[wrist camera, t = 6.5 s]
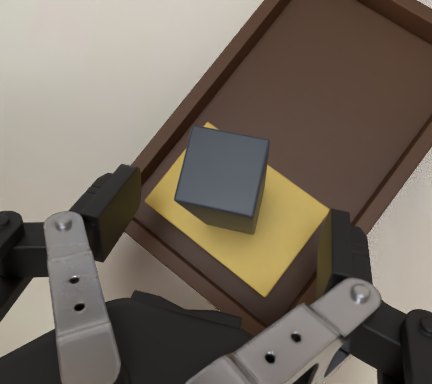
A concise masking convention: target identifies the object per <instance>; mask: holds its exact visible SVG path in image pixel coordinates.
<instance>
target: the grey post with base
mask: <svg viewBox="0 0 432 384" xmlns="http://www.w3.org/2000/svg"><path fill="white" fill-rule="evenodd" d="M269 147H270V140H269V139H265V138H260V137H255V136H249V135H244V134H239V133H234V132H228V131H223V130H219V129H217V128H216V127H214V126H213V125H212V124H210V123H209V122H207V123H206V124H205V125H204V126H203V127H202V126H197V125H193V126H192V128H191V132H190V136H189V140H188V144H187V148H186V149H185V150H184V152H183V153H182V154H181V155H180V157H179V158H178V159H177V160H176V162H175V163H174V164H173V165H172V167H171V168H170V169H169V170H168V172H167V173H166V174H165V175H164V177H163V178H162V179H161V180H160V182H159V183H158V184H157V185H156V187H155V188H154V189H153V191H152V192H151V193H150V194H149V196H148V197H147V198H146V199H145V202H146V203H147V204H148V205H149V206H151V207H152V208H153V209H154V210H156V211H157V212H158V213H159V214H161V215H162V216H163V217H164V218H166V219H167V220H168V221H169V222H171V223H172V224H173V225H174V226H176V227H177V228H178V229H180V230H181V231H182V232H183V233H185V234H186V235H187V236H188V237H190V238H191V239H192V240H193V241H195V242H196V243H197V244H198V245H200V246H201V247H202V248H203V249H205V250H206V251H207V252H208V253H210V254H211V255H212V256H213V257H215V258H216V259H217V260H218V261H220V262H221V263H222V264H223V265H225V266H226V267H227V268H228V269H230V270H231V271H232V272H233V273H235V274H236V275H237V276H238V277H240V278H241V279H242V280H243V281H245V282H246V283H247V284H248V285H250V286H251V287H252V288H254V289H255V290H256V291H257V292H259V293H260V294H261V295H262V296H264V297H266V296H267V295H268V293H269V292H270V291H271V289H272V288H273V287H274V285H275V284H276V283H277V281H278V280H279V279H280V277H281V276H282V275H283V273H284V272H285V271H286V269H287V268H288V267H289V265H290V264H291V263H292V261H293V260H294V259H295V257H296V256H297V255H298V253H299V252H300V251H301V249H302V248H303V247H304V245H305V244H306V242H307V241H308V240H309V238H310V237H311V236H312V234H313V233H314V232H315V230H316V229H317V228H318V226H319V225H320V224H321V222H322V221H323V220H324V218H325V217H326V216H327V214H328V212H329V210H330V209H329V208H327V207H326V206H324V205H323V204H322V203H320V202H319V201H318V200H316V199H315V198H313V197H312V196H311V195H309V194H308V193H306V192H305V191H304V190H302V189H301V188H299V187H298V186H297V185H295V184H294V183H292V182H291V181H290V180H288V179H287V178H285V177H284V176H283V175H281V174H280V173H279V172H277V171H276V170H274V169H273V168H272V167H270V166H269V165H267V163H268V155H269Z"/></svg>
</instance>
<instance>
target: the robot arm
mask: <svg viewBox="0 0 432 384" xmlns="http://www.w3.org/2000/svg"><path fill="white" fill-rule="evenodd" d="M140 203H141V171H140V168H139V167H134V166H130V165H125V164H121V165H120V166H119V167H118V169H117V170H116V171H115V172H114V173H113V174H112V173H107V174H105V175H103V176H101V177H99V178H98V179H97V180H96V181H95V182H94V183H93V184H92V185H91V187H89V189H88V190H87V191H86V193H84V194H83V195H82V196H81V197H80V199H79V200H78V201H77V202H76V203H75V204H74V205H73V206H72V207H71V209H70V210H69V211H64V212H59V213H55V214H53V215H51V216H50V217H48V218H47V219H46V220H45V222H34V223H23V220H22V217H21V215H20V214H18V213H16V212H13V211H1V212H0V322H1V320H2V319H3V318H4V316H5V315H6V314H7V312H8V311H9V310H10V308H11V307H12V305H13V304H14V303H15V301H16V300H17V299H18V297H19V296H20V295H21V293H22V292H23V291H24V289H25V288H26V287H27V285H28V284H29V282H30V281H31V280H32V278H33V277H49V283H50V291H51V299H52V307H53V315H54V323H55V329H53V330H51V331H50V332H48V333H46V334H44V335H42V336H40V337H38V338H36V339H35V340H33V341H31V342H29V343H27V344H25V345H23V346H21V347H20V348H18V349H16V350H14V351H12V352H10V353H8V354H6V355H5V356H3V357H1V358H0V384H323V383H324V382H325V381H326V380H327V379H329V378H330V377H331V376H332V375H333V374H334V373H335V372H336V371H337V370H338V369H339V368H340V367H341V366H342V365H343V364H344V363H345V362H346V361H347V360H348V359H350V358H351V357H352V356H355V357H356V358H358V359H360V360H362V361H363V362H365V363H367V364H369V365H370V366H372V367H374V368H376V369H377V380H378V384H432V313H431V312H429V311H426V310H421V309H415V310H412V311H410V312H409V313H408V314H405V313H403V312H401V311H399V310H397V309H395V308H393V307H391V306H389V305H388V304H386V303H385V302H384V301H382V300H381V295H380V293H379V291H378V290H377V289H376V288H375V287H374V286H373V283H372V274H371V266H370V257H369V249H368V241H367V236H366V235H365V233H364V232H363V230H362V229H361V227H357V226H352V225H351V221H350V212H346V211H342V210H337V209H332V208H330V210H329V212H328V215H327V218H326V221H325V224H324V227H323V230H322V233H321V237H320V240H319V245H318V254H317V282H316V301H315V302H314V303H312V304H311V305H308V304H307V303H305V302H304V303H301V304H299V305H298V306H297V307H295V308H294V309H292V310H291V311H290V312H288V313H287V314H286V315H284V316H283V317H281V318H280V319H279V320H277V321H276V322H275V323H273V324H272V325H271V326H269V327H268V328H266V329H265V330H264V331H262V332H261V333H260V334H258V335H257V336H255V335H253V334H252V333H251V332H250V331H248V330H247V329H245V328H243V327H241V321H242V317H238V316H234V315H230V314H227V313H223V312H219V311H213V310H187V309H183V308H181V307H179V306H177V305H176V304H174V303H172V302H170V301H168V300H166V299H164V298H162V297H160V296H156V295H152V294H149V293H145V292H141V291H137V290H135V291H134V292H133V294H132V296H131V298H121V299H115V300H111V301H108V302H105V300H104V297H103V293H102V289H101V285H100V281H99V277H98V273H97V269H96V265H95V261H99V262H104V261H105V259H106V258H107V256H108V255H109V253H110V252H111V250H112V249H113V247H114V246H115V244H116V243H117V241H118V240H119V238H120V237H121V235H122V234H123V232H124V231H125V229H126V228H127V226H128V225H129V223H130V222H131V220H132V219H133V217H134V215H135V214H136V212H137V211H138V209H139V207H140ZM94 260H95V261H94Z"/></svg>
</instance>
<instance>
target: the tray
mask: <svg viewBox="0 0 432 384" xmlns="http://www.w3.org/2000/svg"><path fill="white" fill-rule="evenodd" d="M207 122H209V123H210V124H212V125H213V126H214V127H216V128H217V129H219V130H223V131H228V132H234V133H239V134H244V135H249V136H255V137H260V138H265V139H269V140H270V147H269V155H268V163H267V165H269V166H270V167H272V168H273V169H274V170H276V171H277V172H279V173H280V174H281V175H283V176H284V177H285V178H287V179H288V180H290V181H291V182H292V183H294V184H295V185H297V186H298V187H299V188H301V189H302V190H304V191H305V192H306V193H308V194H309V195H311V196H312V197H313V198H315V199H316V200H318V201H319V202H320V203H322V204H323V205H324V206H326V207H327V208H329V209H330V208H332V209H337V210H342V211H346V212H350V221H351V225H352V226H357V227H361V229H362V230H363V232H364V233H365V235H367V234H368V233H369V231H370V230H371V229H372V227H373V226H374V224H375V223H376V222H377V220H378V219H379V218H380V216H381V215H382V214H383V212H384V211H385V209H386V208H387V207H388V205H389V204H390V203H391V201H392V200H393V199H394V197H395V196H396V194H397V193H398V192H399V190H400V189H401V188H402V186H403V185H404V184H405V182H406V181H407V179H408V178H409V177H410V175H411V174H412V173H413V171H414V170H415V169H416V167H417V166H418V164H419V163H420V162H421V160H422V159H423V158H424V156H425V155H426V154H427V152H428V151H429V150H430V148H431V147H432V9H431V8H429V7H427V6H426V5H424V4H422V3H420V2H419V1H417V0H264V1H263V2H262V4H261V5H260V6H259V7H258V9H257V10H256V11H255V12H254V13H253V15H252V16H251V17H250V18H249V20H248V21H247V22H246V23H245V25H244V26H243V27H242V28H241V30H240V31H239V32H238V33H237V35H236V36H235V37H234V38H233V39H232V41H231V42H230V43H229V44H228V46H227V47H226V48H225V49H224V51H223V52H222V53H221V54H220V56H219V57H218V58H217V59H216V61H215V62H214V63H213V64H212V66H211V67H210V68H209V69H208V70H207V72H206V73H205V74H204V75H203V77H202V78H201V79H200V80H199V82H198V83H197V84H196V85H195V87H194V88H193V89H192V90H191V92H190V93H189V94H188V95H187V96H186V98H185V99H184V100H183V101H182V103H181V104H180V105H179V106H178V108H177V109H176V110H175V111H174V113H173V114H172V115H171V116H170V118H169V119H168V120H167V121H166V123H165V124H164V125H163V126H162V127H161V129H160V130H159V131H158V132H157V134H156V135H155V136H154V137H153V139H152V140H151V141H150V142H149V144H148V145H147V146H146V147H145V149H144V150H143V151H142V152H141V153H140V155H139V156H138V157H137V158H136V160H135V161H134V162H133V163H132V165H131V166H134V167H139V168H140V171H141V203H140V207H139V209H138V211H137V212H136V214H135V215H134V217H133V219H132V220H131V222H130V223H129V225H128V226H127V228H126V229H125V231H124V232H126V233H127V234H128V235H129V236H130V237H132V238H133V239H134V240H135V241H136V242H138V243H139V244H140V245H141V246H142V247H144V248H145V249H146V250H147V251H149V252H150V253H151V254H152V255H153V256H155V257H156V258H157V259H158V260H159V261H161V262H162V263H163V264H164V265H165V266H167V267H168V268H169V269H170V270H171V271H173V272H174V273H175V274H176V275H178V276H179V277H180V278H181V279H182V280H184V281H185V282H186V283H187V284H188V285H190V286H191V287H192V288H193V289H194V290H196V291H197V292H198V293H199V294H201V295H202V296H203V297H204V298H205V299H207V300H208V301H209V302H210V303H211V304H213V305H214V306H215V307H216V308H217V309H219V310H220V311H221V312H223V313H227V314H230V315H234V316H238V317H242V321H241V327H243V328H245V329H247V330H248V331H250V332H251V333H252V334H253V335H255V336H257V335H258V334H260V333H261V332H262V331H264V330H265V329H266V328H268V327H269V326H271V325H272V324H273V323H275V322H276V321H277V320H279V319H280V318H281V317H283V316H284V315H286V314H287V313H288V312H290V311H291V310H292V309H294V308H295V307H297V306H298V305H299V304H301V303H304V302H305V303H307V304H308V305H311V304H312V303H314V302H315V301H316V282H317V254H318V245H319V240H320V237H321V233H322V230H323V227H324V224H325V221H326V218H327V216H326V217H325V218H324V220H323V221H322V222H321V224H320V225H319V226H318V228H317V229H316V230H315V232H314V233H313V234H312V236H311V237H310V238H309V240H308V241H307V242H306V244H305V245H304V247H303V248H302V249H301V251H300V252H299V253H298V255H297V256H296V257H295V259H294V260H293V261H292V263H291V264H290V265H289V267H288V268H287V269H286V271H285V272H284V273H283V275H282V276H281V277H280V279H279V280H278V281H277V283H276V284H275V285H274V287H273V288H272V289H271V291H270V292H269V293H268V295H267V296H266V297H264V296H262V295H261V294H260V293H259V292H257V291H256V290H255V289H254V288H252V287H251V286H250V285H248V284H247V283H246V282H245V281H243V280H242V279H241V278H240V277H238V276H237V275H236V274H235V273H233V272H232V271H231V270H230V269H228V268H227V267H226V266H225V265H223V264H222V263H221V262H220V261H218V260H217V259H216V258H215V257H213V256H212V255H211V254H210V253H208V252H207V251H206V250H205V249H203V248H202V247H201V246H200V245H198V244H197V243H196V242H195V241H193V240H192V239H191V238H190V237H188V236H187V235H186V234H185V233H183V232H182V231H181V230H180V229H178V228H177V227H176V226H174V225H173V224H172V223H171V222H169V221H168V220H167V219H166V218H164V217H163V216H162V215H161V214H159V213H158V212H157V211H156V210H154V209H153V208H152V207H151V206H149V205H148V204H147V203H146V202H145V199H146V198H147V197H148V196H149V194H150V193H151V192H152V191H153V189H154V188H155V187H156V185H157V184H158V183H159V182H160V180H161V179H162V178H163V177H164V175H165V174H166V173H167V172H168V170H169V169H170V168H171V167H172V165H173V164H174V163H175V162H176V160H177V159H178V158H179V157H180V155H181V154H182V153H183V152H184V150H185V149H186V148H187V144H188V140H189V136H190V132H191V128H192V126H193V125H197V126H202V127H203V126H204V125H205V124H206V123H207ZM327 215H328V214H327Z"/></svg>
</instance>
